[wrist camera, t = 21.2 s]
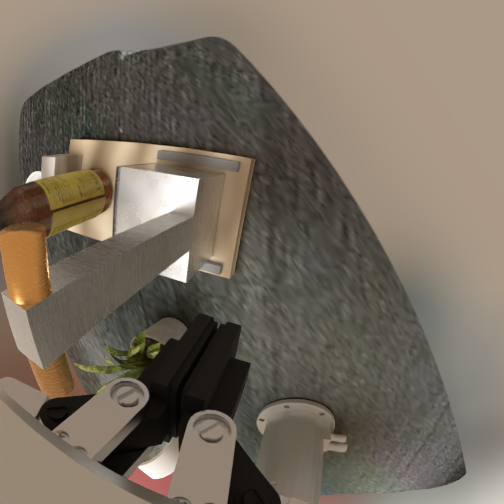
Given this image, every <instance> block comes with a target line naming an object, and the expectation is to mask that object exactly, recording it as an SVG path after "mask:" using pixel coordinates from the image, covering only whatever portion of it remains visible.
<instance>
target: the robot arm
mask: <svg viewBox="0 0 504 504" xmlns="http://www.w3.org/2000/svg"><path fill="white" fill-rule="evenodd" d="M217 325H218V323H217V322H214V318H213V317H211V316H207V315H204V314H201V313H199V314H198V316H197V317H196V318H195V320H194V321H193V322H192V324H191V325H190V326H189V328H188V329H187V330H186V332H185V333H184V334H183V336H182V337H181V338H180V340H177V339H174V338H170V339H169V340H168V341H167V342H166V344H165V345H164V346H163V347H162V349H161V350H160V351H159V352H158V354H157V355H156V356H155V358H154V359H153V360H152V361H151V363H150V364H149V365H148V366H147V368H146V369H145V370H144V371H143V373H142V374H141V375H140V377H139V378H138V379H137V380H136V379H133V378H119V379H116V380H114V381H112V382H111V383H109V384H108V385H107V386H106V387H105V388H103V389H102V390H101V391H100V392H99V393H97V394H91V395H82V396H72V397H59V398H53V399H51V398H49V396H48V395H47V394H45V393H42V392H40V391H38V390H36V389H34V388H32V387H30V386H28V385H26V384H24V383H22V382H20V381H18V380H16V379H14V378H11V377H5V378H2V379H0V504H319V499H320V489H321V479H322V467H323V454H324V452H327V451H328V450H331V451H336V452H346V450H347V447H348V443H347V442H345V441H346V439H347V435H342V434H333V431H334V428H335V418H334V415H333V414H332V412H331V411H330V410H329V409H328V408H326V407H325V406H323V405H321V404H319V403H316V402H313V401H309V400H304V399H285V400H279V401H276V402H273V403H270V404H268V405H267V406H265V407H264V408H263V409H262V410H261V411H260V412H259V414H258V417H257V427H258V430H259V431H260V432H261V434H263V437H262V441H261V445H260V449H259V453H258V457H257V461H256V464H254V463H253V461H252V460H251V459H250V458H249V456H248V455H247V454H246V452H245V451H244V450H243V448H242V447H241V446H240V444H239V443H238V441H237V440H236V434H237V430H236V425H235V423H234V421H233V418H234V415H235V412H236V410H237V407H238V404H239V401H240V398H241V395H242V392H243V389H244V386H245V383H246V380H247V376H248V372H249V368H250V364H251V363H248V362H245V361H241V360H238V359H235V355H236V351H237V346H238V341H239V336H240V332H241V325H238V324H234V323H231V322H227V323H226V325H224V324H221V325H220V326H219V328H218V330H217ZM172 437H175V438H177V437H178V447H179V456H178V459H177V463H176V466H175V470H174V474H173V477H172V481H171V485H170V488H169V492H168V496H167V497H166V496H163V495H161V494H158V493H156V492H154V491H152V490H149V489H147V488H145V487H143V486H141V485H139V484H136V483H134V482H132V481H130V480H128V478H129V477H130V476H131V474H132V473H133V472H134V471H135V470H136V469H137V468H138V466H139V465H140V464H141V463H142V462H143V461H144V460H145V458H146V457H147V456H148V455H149V454H150V453H151V451H152V450H153V448H154V446H155V445H160V444H162V443H163V441H165V442H168V443H169V442H170V440H171V439H172Z"/></svg>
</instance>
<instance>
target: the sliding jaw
mask: <svg viewBox="0 0 504 504" xmlns="http://www.w3.org/2000/svg"><path fill="white" fill-rule="evenodd" d="M224 177H225V174H219V173H214V172H208V171H203V170H197V169H191V168H185V167H178V166H172V165H165V164H158V163H147V164H135V165H124V166H117V168H116V178H115V190H114V205H113V230H112V237H110V238H108V239H105V240H103V241H101V242H99V243H97V244H95V245H92V246H90V247H88V248H86V249H84V250H82V251H80V252H78V253H75V254H73V255H71V256H69V257H67V258H65V259H63V260H61V261H59V262H57V263H55V264H53V265H51V266H49V267H48V257H47V246H46V231H45V226H44V225H42V224H40V223H35V222H24V223H17V224H13V225H10V226H8V227H5V228H4V229H2V230H1V231H0V249H1V256H2V262H3V268H4V274H5V279H6V284H7V290H5V291H3V292H1V294H2V298H3V302H4V305H5V309H6V313H7V316H8V320H9V323H10V327H11V330H12V333H13V335H14V339H15V342H16V345H17V347H18V350H20V351H21V352H22V353H23V354H24V355H26V356H27V357H28V360H29V362H30V364H31V368H32V370H33V373H34V375H35V378H36V380H37V382H38V384H39V387H40V389H41V391H42V393H45V394H47V395H48V396H49V398H52V399H53V398H59V397H66V396H68V395H69V394H70V393H71V392H72V390H73V388H74V381H73V378H72V375H71V372H70V368H69V365H68V362H67V358H66V354H65V351H66V350H68V349H69V348H70V347H71V346H72V345H73V344H75V343H76V342H77V341H78V340H79V339H80V338H82V337H83V336H84V335H85V334H86V333H87V332H89V331H90V330H91V329H92V328H93V327H95V326H96V325H97V324H98V323H99V322H101V321H102V320H103V319H104V318H105V317H107V316H108V315H109V314H110V313H111V312H113V311H114V310H115V309H116V308H118V307H119V306H120V305H121V304H123V303H124V302H125V301H126V300H127V299H129V298H130V297H131V296H132V295H134V294H135V293H136V292H137V291H139V290H140V289H141V288H142V287H144V286H145V285H146V284H148V283H149V282H150V281H151V280H153V279H154V278H155V277H156V276H158V275H162V276H166V277H169V278H172V279H175V280H178V281H182V282H185V283H186V282H187V281H188V280H189V279H190V278H191V277H193V276H194V275H195V274H196V273H197V272H198V271H199V270H200V269H201V268H202V267H203V266H204V265H205V264H206V263H207V262H208V261H209V260H210V259H211V258H212V252H213V245H214V238H215V232H216V225H217V219H218V212H219V206H220V200H221V194H222V188H223V182H224Z"/></svg>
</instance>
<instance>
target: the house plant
mask: <svg viewBox="0 0 504 504" xmlns="http://www.w3.org/2000/svg"><path fill="white" fill-rule="evenodd" d="M186 330H187V328H186V326H185V325H184V324H183V323H182V322H180V321H179V320H177V319H175V318H171V317H166V318H163V319H161V320H160V321H158V322H157V323H155V324H154V325H152V326H151V327H149V328H148V329H146V330H145V331H143V332H142V333H139V334H138V335H137V336H136V337H134V338H133V340H132V341H131V344H130V348H129V349H128V351H127V352H125V351H119V350H116V349H112V348H110V347H108V346H106V345H105V344H104V345H105V346H106V348H107V351H108V352H109V354H110V355H111V356H112V357H113V358H114V359H115V360H116V361H117V362H118V363H120V364H121V365H119V366H116V365H115V366H91V367H87V366H83V365H80V364H75V363H74V364H75V365H76V366H77V367H79V368H81V369H82V370H85V371H88V372H92V373H104V374H110V373H116V372H119V371H123V370H128V369H133V370H131V371H129V372H126V373H125V374H123V375H121V376H120V377H118V378H116V379H119V378H133V379H135V378H136V377H137V376H138V375H139V374H140V373H141V374H142V373H143V371H144V370H145V369H146V368H147V366H148V365H149V364H150V363H151V361H152V360H153V359H154V358H155V356H156V355H157V354H158V352H159V351H160V350H161V349H162V347H163V346H164V345H165V344H166V342H167V341H168V340H169V339H170V338H174V339H177V340H180V338H181V337H182V336H183V334H184V333H185V332H186ZM112 354H113V355H117V356H127V359H128V360H119V359H117V358H116V357H115V356H113V355H112ZM104 358H105V360H106V362H107V363H109V364H111V365H114V364H113V363H112V362H110V361H109V360H108V359H107V358H106V357H105V356H104ZM141 374H140V375H141ZM140 375H139V376H138V377H137V378H136V380H137V379H138V378H139V377H140ZM116 379H114V380H116ZM114 380H112V381H114ZM112 381H110V382H108V383H107V384H105V385H104V386H103V387H102V388H100V389H99V390H98V391H97V393H99V392H100V391H101V390H102V389H103V388H105V387H106V386H107V385H108V384H109V383H111V382H112ZM97 393H96V394H97Z"/></svg>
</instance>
